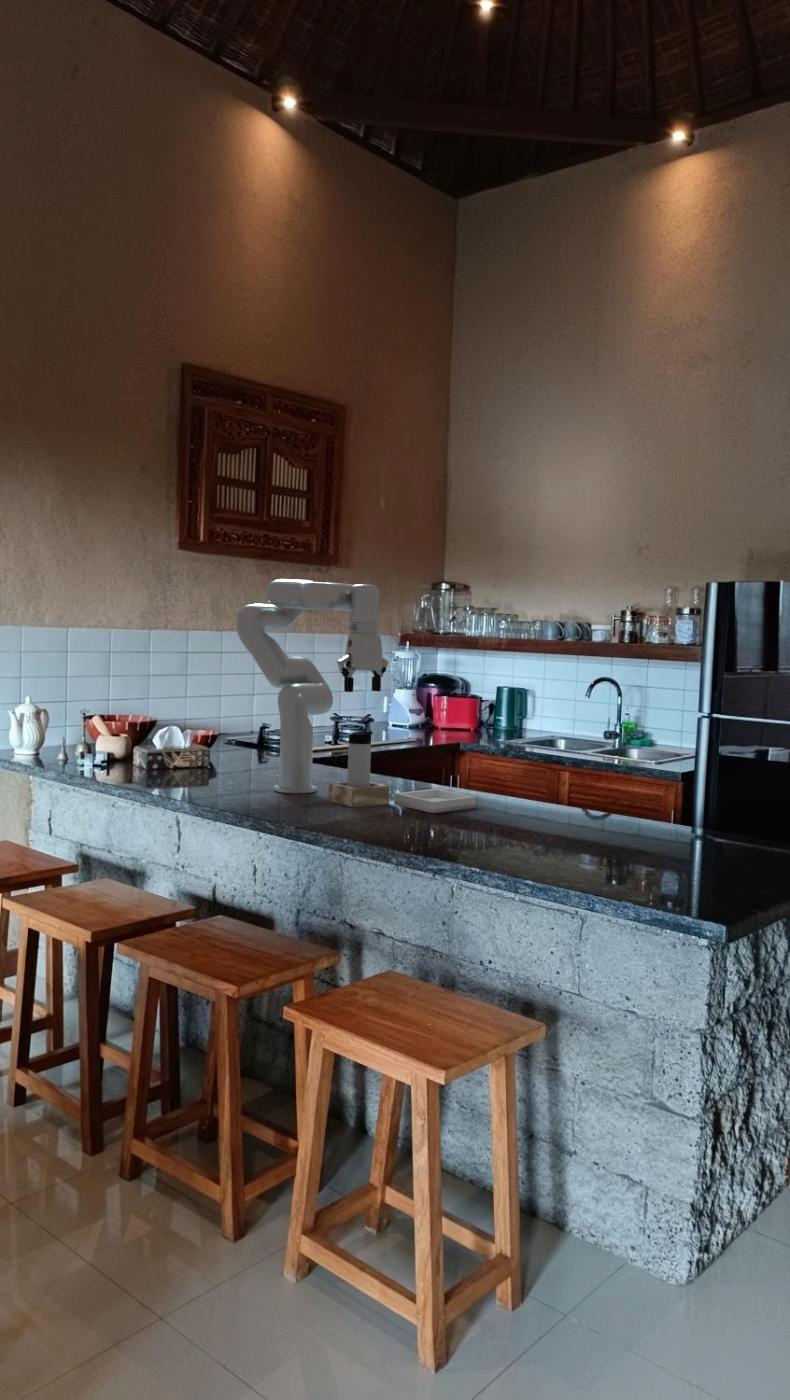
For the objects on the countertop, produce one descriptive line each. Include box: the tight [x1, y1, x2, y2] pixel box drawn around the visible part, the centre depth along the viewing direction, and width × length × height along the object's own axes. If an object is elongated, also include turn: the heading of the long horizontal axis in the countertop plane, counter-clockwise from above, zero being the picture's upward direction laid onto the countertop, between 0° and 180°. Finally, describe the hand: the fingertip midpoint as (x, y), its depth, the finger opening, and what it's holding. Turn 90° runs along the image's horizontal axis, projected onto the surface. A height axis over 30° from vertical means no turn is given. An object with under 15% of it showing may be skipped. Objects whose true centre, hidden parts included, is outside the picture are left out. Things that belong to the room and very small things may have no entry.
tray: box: [393, 788, 477, 814], centre depth 282 cm, size 16×16×3 cm
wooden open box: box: [328, 781, 390, 808], centre depth 284 cm, size 12×12×5 cm
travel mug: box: [346, 730, 374, 788], centre depth 283 cm, size 6×7×20 cm
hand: (362, 691), depth 281 cm, fingers open, 9 cm apart
